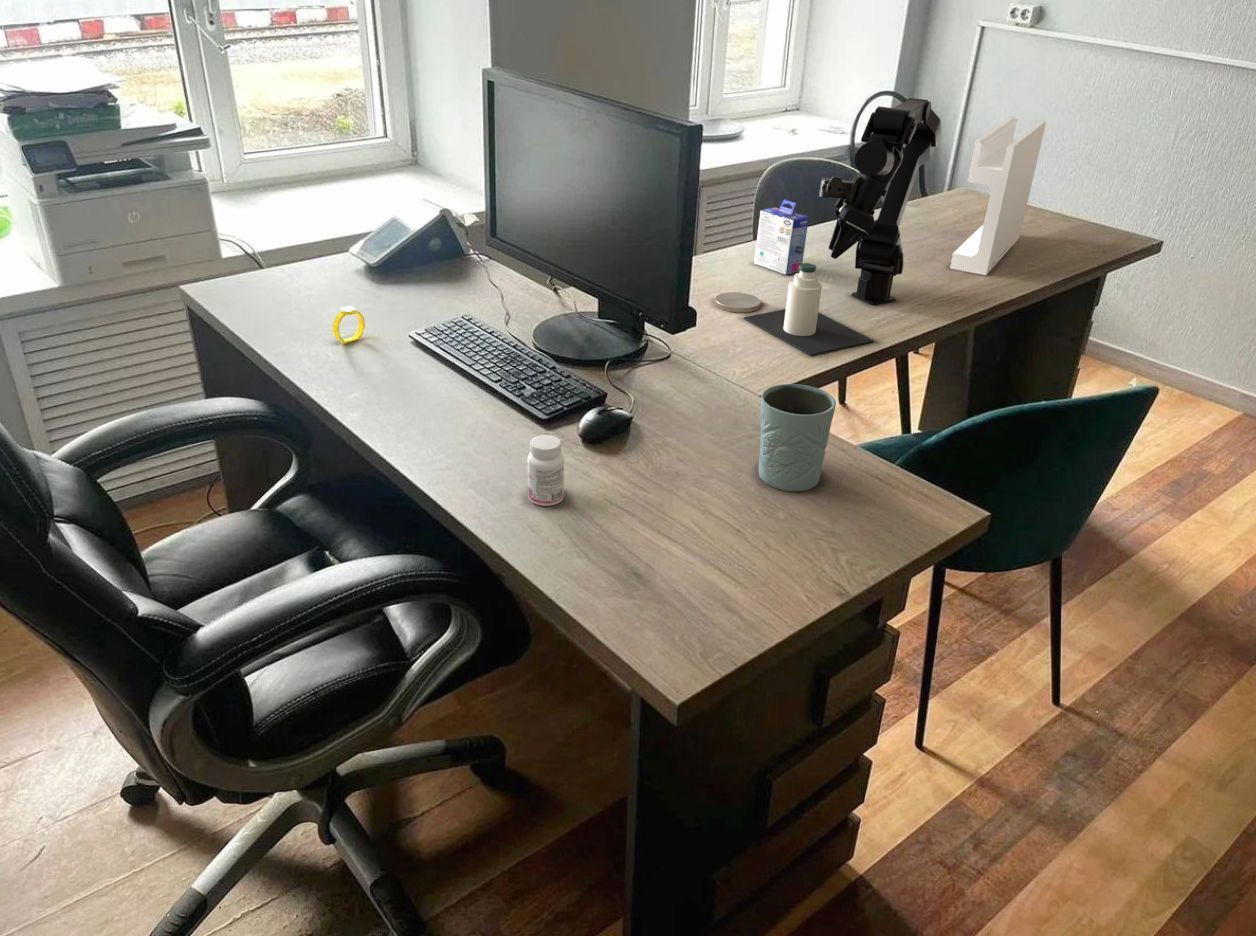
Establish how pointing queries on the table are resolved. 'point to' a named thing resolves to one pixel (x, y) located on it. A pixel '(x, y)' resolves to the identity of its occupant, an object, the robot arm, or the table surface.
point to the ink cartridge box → (781, 239)
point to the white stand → (1000, 193)
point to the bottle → (803, 302)
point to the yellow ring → (338, 318)
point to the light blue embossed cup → (794, 435)
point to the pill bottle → (545, 471)
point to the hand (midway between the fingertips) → (831, 253)
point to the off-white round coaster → (737, 302)
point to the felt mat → (822, 341)
